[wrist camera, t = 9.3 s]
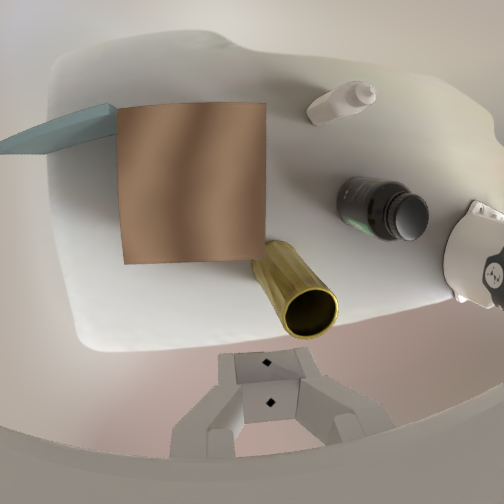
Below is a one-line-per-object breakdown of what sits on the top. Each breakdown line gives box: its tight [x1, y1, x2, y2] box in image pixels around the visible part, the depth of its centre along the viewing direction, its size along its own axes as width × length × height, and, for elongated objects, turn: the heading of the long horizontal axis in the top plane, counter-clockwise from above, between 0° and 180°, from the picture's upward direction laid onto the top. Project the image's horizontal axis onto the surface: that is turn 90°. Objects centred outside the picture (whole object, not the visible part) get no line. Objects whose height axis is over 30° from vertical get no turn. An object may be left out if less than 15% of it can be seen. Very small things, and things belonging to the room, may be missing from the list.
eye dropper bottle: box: [306, 81, 376, 125], centre depth 29 cm, size 4×6×12 cm
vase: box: [252, 241, 338, 340], centre depth 32 cm, size 6×6×14 cm
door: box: [0, 103, 118, 154], centre depth 25 cm, size 2×13×11 cm, turn 97°
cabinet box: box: [117, 102, 266, 265], centre depth 29 cm, size 12×13×12 cm
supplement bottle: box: [337, 177, 429, 242], centre depth 33 cm, size 7×7×12 cm
